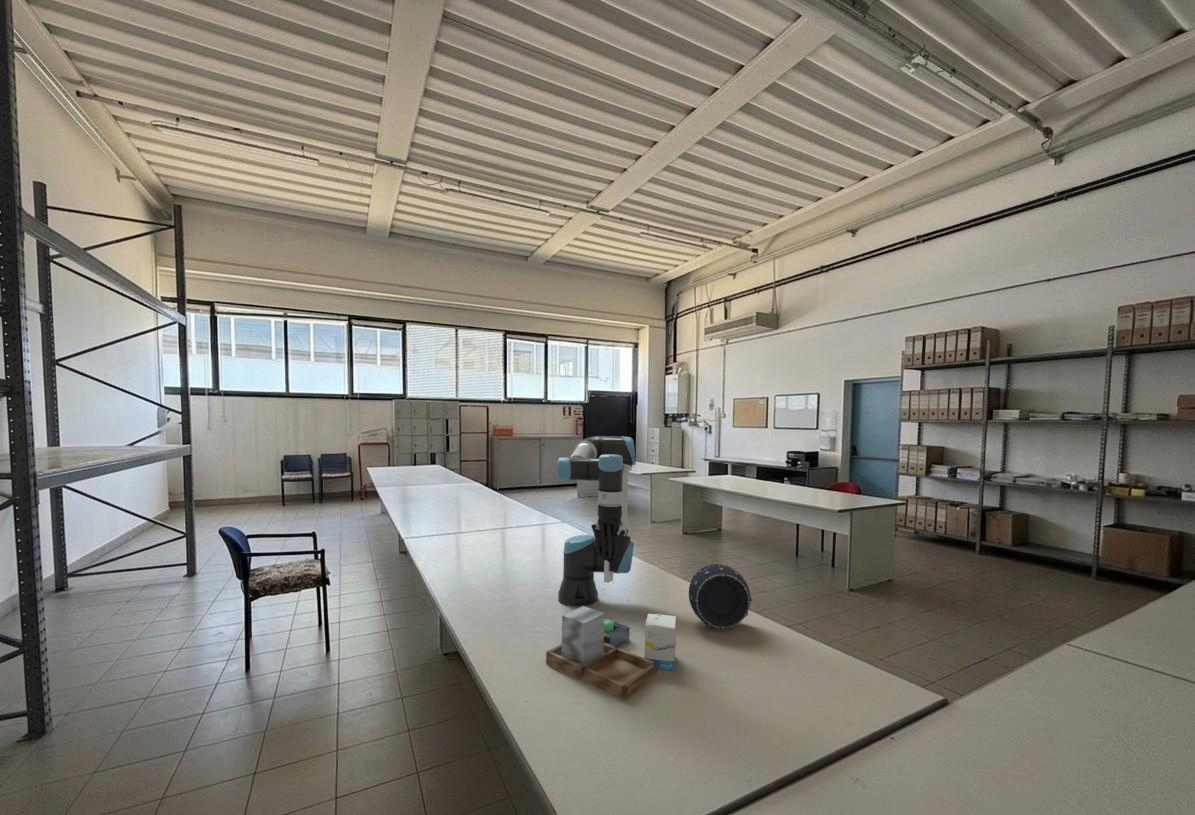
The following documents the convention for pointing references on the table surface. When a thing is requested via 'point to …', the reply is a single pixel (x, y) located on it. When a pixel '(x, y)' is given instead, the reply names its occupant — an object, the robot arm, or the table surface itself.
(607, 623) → the button
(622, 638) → the grey square socket block
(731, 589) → the dark round pouf
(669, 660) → the ink box
